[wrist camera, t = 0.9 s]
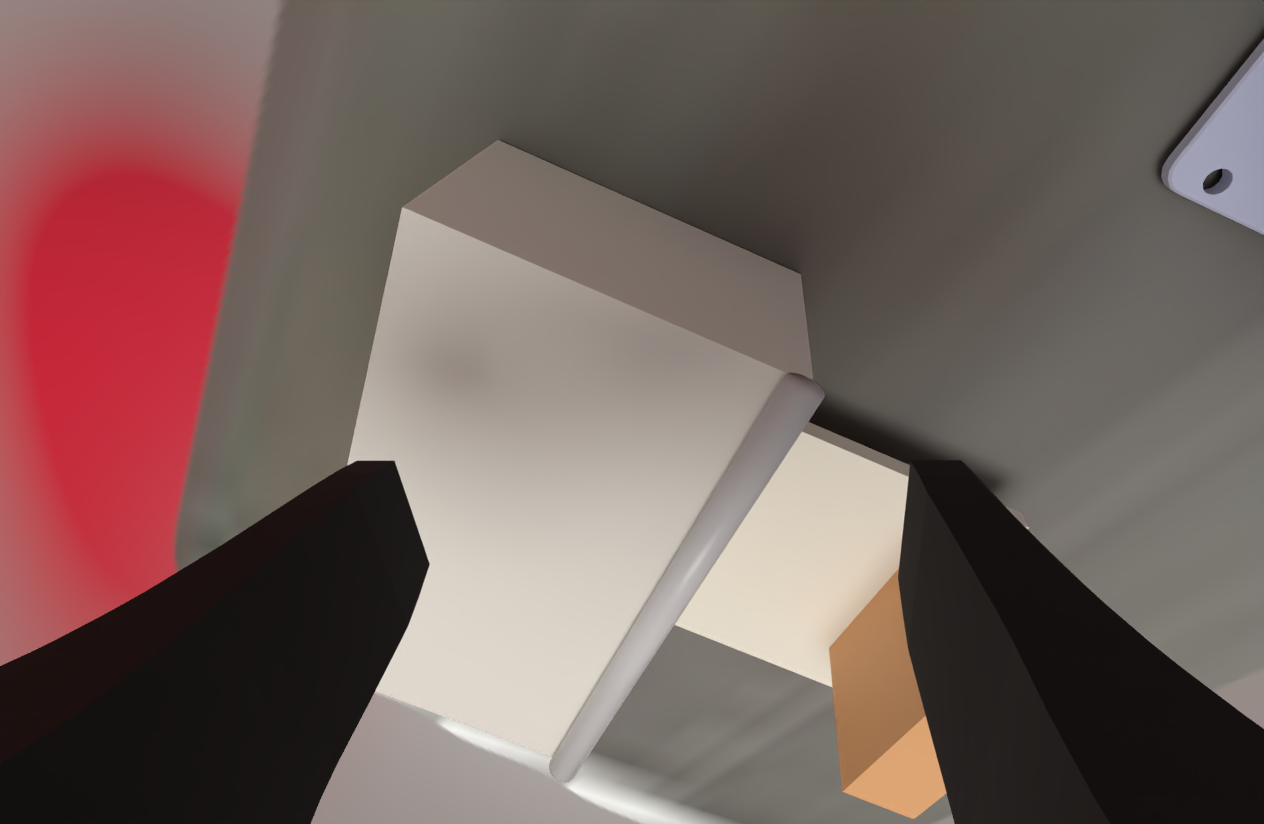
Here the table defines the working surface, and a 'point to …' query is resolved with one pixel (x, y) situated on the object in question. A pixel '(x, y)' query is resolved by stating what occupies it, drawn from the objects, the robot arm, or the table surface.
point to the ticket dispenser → (568, 436)
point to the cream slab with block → (832, 607)
